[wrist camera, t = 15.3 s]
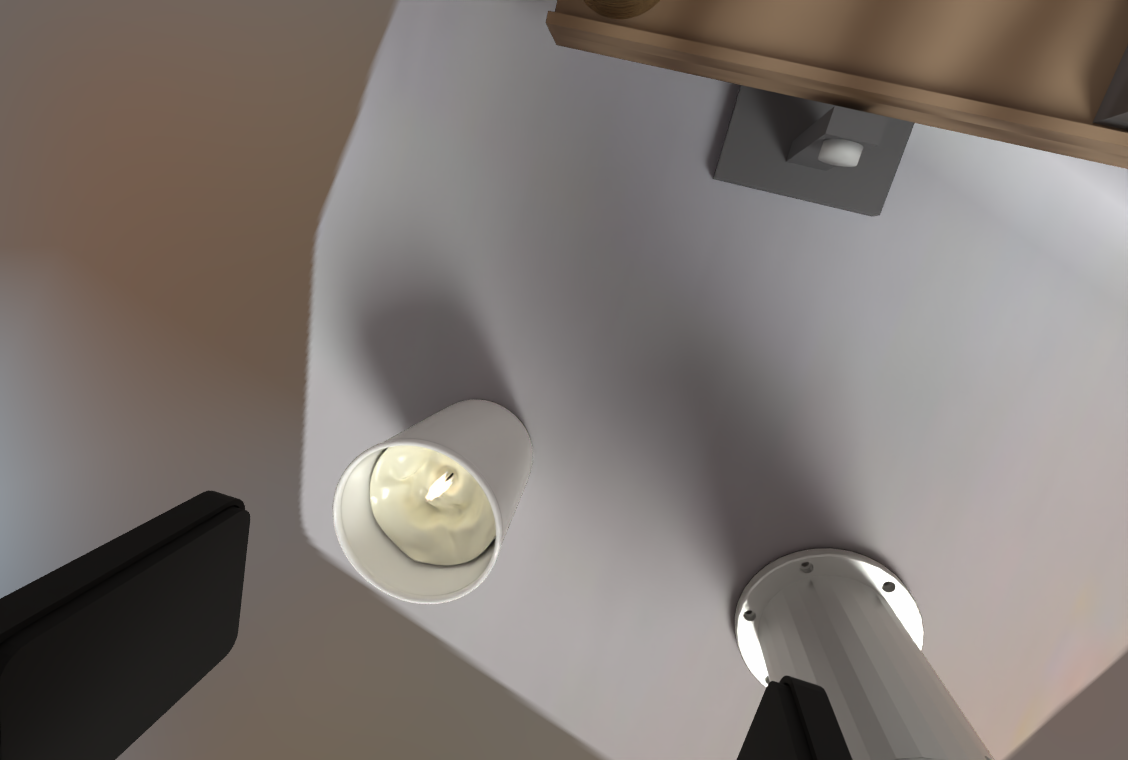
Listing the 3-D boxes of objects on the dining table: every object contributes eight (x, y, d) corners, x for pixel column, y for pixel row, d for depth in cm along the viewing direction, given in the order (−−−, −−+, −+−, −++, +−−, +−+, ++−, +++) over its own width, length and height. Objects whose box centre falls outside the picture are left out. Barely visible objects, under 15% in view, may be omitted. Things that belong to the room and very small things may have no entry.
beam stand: (974, -60, 30) (1106, -189, 22) (872, 216, 34) (948, 202, 25) (793, -94, 31) (847, -231, 23) (712, 178, 35) (732, 152, 26)
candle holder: (455, 363, 41) (376, 406, 29) (568, 434, 40) (533, 506, 29) (398, 466, 43) (305, 543, 32) (504, 534, 43) (448, 636, 32)
